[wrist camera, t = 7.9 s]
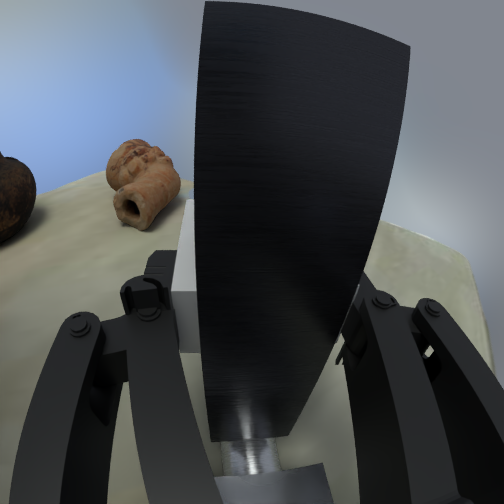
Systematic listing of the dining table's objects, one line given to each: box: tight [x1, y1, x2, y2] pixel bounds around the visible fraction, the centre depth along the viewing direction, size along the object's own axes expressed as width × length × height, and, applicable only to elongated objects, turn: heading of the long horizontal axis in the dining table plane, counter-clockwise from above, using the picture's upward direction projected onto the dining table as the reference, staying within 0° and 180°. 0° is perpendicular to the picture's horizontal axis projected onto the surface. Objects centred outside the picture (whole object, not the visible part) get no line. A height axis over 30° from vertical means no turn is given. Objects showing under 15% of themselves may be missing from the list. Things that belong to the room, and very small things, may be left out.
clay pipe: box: [106, 139, 181, 231], centre depth 43 cm, size 19×11×15 cm
